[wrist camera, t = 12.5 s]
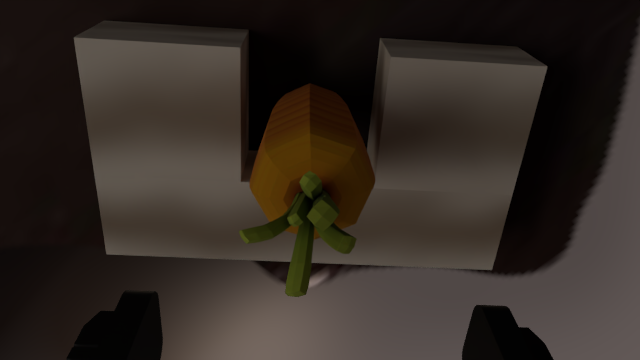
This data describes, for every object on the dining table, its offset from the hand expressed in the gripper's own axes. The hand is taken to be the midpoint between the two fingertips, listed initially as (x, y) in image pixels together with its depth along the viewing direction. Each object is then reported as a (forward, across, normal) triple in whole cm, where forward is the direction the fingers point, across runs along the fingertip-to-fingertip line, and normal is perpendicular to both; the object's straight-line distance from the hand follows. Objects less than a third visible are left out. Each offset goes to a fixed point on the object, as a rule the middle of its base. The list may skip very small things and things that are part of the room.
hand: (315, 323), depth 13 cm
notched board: (+18, 0, +3) cm, 18 cm away
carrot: (+18, 0, 0) cm, 18 cm away
